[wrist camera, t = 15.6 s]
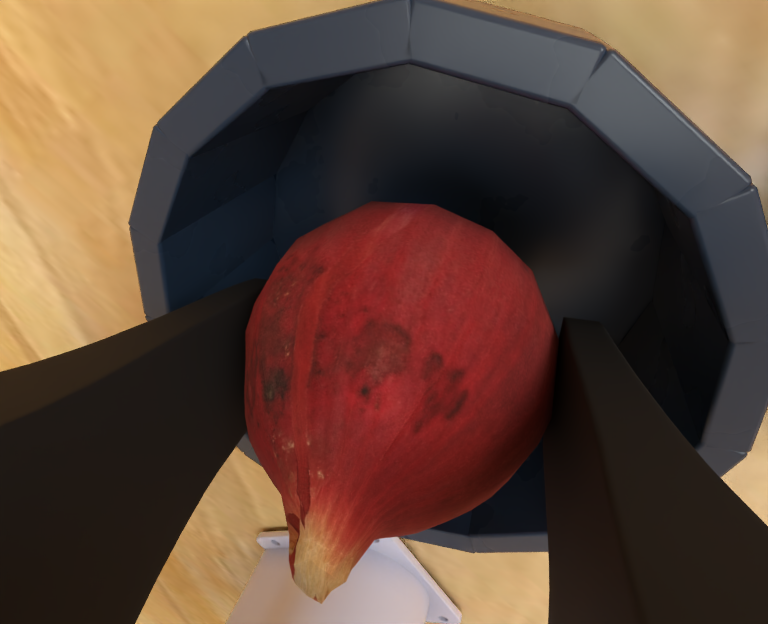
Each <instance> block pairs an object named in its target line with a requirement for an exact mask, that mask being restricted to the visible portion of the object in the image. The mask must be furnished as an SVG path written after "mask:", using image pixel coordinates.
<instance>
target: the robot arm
mask: <svg viewBox="0 0 768 624" xmlns="http://www.w3.org/2000/svg"><path fill="white" fill-rule="evenodd" d="M267 281H268V280H267V279H259V278H254V279H250V280H247V281H244V282H241V283H238V284H236V285H233V286H231V287H228V288H226V289H223V290H221V291H218V292H216V293H214V294H211V295H209V296H207V297H204V298H202V299H200V300H197V301H195V302H193V303H191V304H188V305H186V306H184V307H181V308H179V309H177V310H174V311H172V312H170V313H167V314H165V315H163V316H160V317H158V318H156V319H153V320H151V321H148V322H146V323H143V324H141V325H138V326H136V327H133V328H131V329H128V330H126V331H123V332H121V333H118V334H116V335H113V336H111V337H108V338H106V339H103V340H100V341H98V342H95V343H92V344H89V345H86V346H84V347H81V348H78V349H75V350H72V351H69V352H66V353H63V354H60V355H57V356H54V357H51V358H47V359H44V360H41V361H38V362H35V363H31V364H28V365H24V366H21V367H17V368H13V369H10V370H6V371H2V372H0V624H135V623H136V620H137V618H138V616H139V614H140V612H141V610H142V608H143V606H144V604H145V602H146V600H147V598H148V596H149V594H150V592H151V590H152V588H153V586H154V584H155V582H156V580H157V578H158V576H159V574H160V572H161V570H162V568H163V566H164V565H165V563H166V561H167V559H168V557H169V555H170V553H171V551H172V550H173V548H174V546H175V544H176V542H177V540H178V538H179V536H180V535H181V533H182V531H183V529H184V527H185V526H186V524H187V522H188V520H189V519H190V517H191V515H192V513H193V512H194V510H195V508H196V506H197V505H198V503H199V501H200V499H201V498H202V496H203V494H204V492H205V491H206V489H207V488H208V486H209V485H210V483H211V482H212V480H213V478H214V477H215V475H216V474H217V472H218V471H219V469H220V468H221V467H222V465H223V464H224V462H225V461H226V460H227V458H228V457H229V455H230V454H231V453H232V451H233V450H234V448H235V447H236V446H237V444H238V443H239V441H240V440H241V439H242V437H243V436H244V434H245V433H246V432H247V425H246V420H245V403H244V385H245V361H246V340H245V331H246V328H247V325H248V322H249V319H250V316H251V313H252V309H253V306H254V303H255V302H256V300H257V298H258V296H259V295H260V293H261V291H262V289H263V288H264V286H265V284H266V282H267ZM543 461H544V480H545V498H546V516H547V534H548V552H549V589H550V591H549V618H548V624H768V526H767V525H766V524H765V523H764V522H763V521H762V520H761V519H760V518H759V517H758V516H757V515H756V514H755V513H754V512H753V511H752V510H751V509H750V508H749V507H748V506H747V505H746V504H745V503H744V502H743V501H742V500H741V499H740V498H739V497H738V496H737V495H736V494H735V493H734V492H733V491H732V490H731V489H730V488H729V487H728V485H727V484H726V483H725V482H724V481H723V480H722V479H721V478H720V477H719V476H718V475H717V474H716V473H715V472H714V470H713V469H712V468H711V467H710V466H709V465H708V464H707V463H706V462H705V461H704V459H703V458H702V457H701V456H700V455H699V453H698V452H697V451H696V450H695V449H694V448H693V446H692V445H691V444H690V443H689V442H688V441H687V439H686V438H685V437H684V436H683V435H682V434H681V432H680V431H679V430H678V429H677V427H676V426H675V425H674V424H673V422H672V421H671V420H670V419H669V417H668V416H667V415H666V414H665V412H664V411H663V410H662V408H661V407H660V406H659V404H658V403H657V402H656V400H655V399H654V398H653V397H652V395H651V394H650V393H649V391H648V390H647V389H646V387H645V386H644V385H643V383H642V382H641V380H640V379H639V378H638V376H637V375H636V374H635V372H634V371H633V369H632V368H631V366H630V365H629V363H628V362H627V361H626V359H625V358H624V356H623V355H622V353H621V352H620V350H619V349H618V347H617V346H616V344H615V343H614V341H613V340H612V338H611V337H610V335H609V334H608V332H607V331H606V329H605V328H604V326H603V325H602V324H601V323H600V322H599V321H591V320H583V319H575V318H568V317H563V321H562V326H561V331H560V335H559V346H558V358H557V369H556V378H555V388H554V398H553V408H552V418H551V420H550V422H549V424H548V426H547V428H546V430H545V432H544V434H543ZM256 540H257V542H258V543H259V544H260V545H261V546H262V547H263V548H264V549H265V550H264V552H263V553H262V555H261V557H260V559H259V561H258V563H257V565H256V567H255V568H254V570H253V572H252V574H251V576H250V578H249V580H248V581H247V583H246V585H245V587H244V589H243V591H242V593H241V595H240V596H239V598H238V600H237V602H236V604H235V606H234V608H233V609H232V611H231V613H230V615H229V617H228V619H227V621H226V622H225V624H425V622H433V623H446V624H459V623H461V619H462V614H461V612H460V611H459V610H458V608H457V607H456V606H455V605H454V604H453V602H452V601H451V600H450V599H449V598H448V596H447V595H446V594H445V593H444V592H443V590H442V589H441V588H440V587H439V586H438V584H437V583H436V582H435V581H434V580H433V578H432V577H431V576H430V575H429V574H428V572H427V571H426V570H425V569H424V568H423V566H422V565H421V564H420V563H419V562H418V560H417V559H416V558H415V557H414V556H413V554H412V553H411V552H410V551H409V550H408V548H407V547H406V546H405V545H404V544H403V542H402V541H401V540H400V539H399V538H398V537H391V538H381V539H377V540H374V541H373V543H372V544H371V545H370V547H369V548H368V549H367V551H366V552H365V553H364V555H363V556H362V557H361V559H360V560H359V561H358V563H357V564H356V565H355V566H354V567H353V569H352V570H351V572H350V574H349V576H348V579H347V581H346V582H345V583H343V584H342V585H340V586H339V587H337V588H335V589H334V590H332V591H331V592H330V594H329V595H328V596H327V598H326V599H325V600H324V602H323V603H322V604H321V603H319V602H317V601H315V600H314V599H312V598H310V597H308V596H307V595H306V594H305V593H304V592H303V591H302V590H301V589H300V588H299V587H298V586H297V585H296V584H295V582H294V580H293V578H292V574H291V569H290V564H289V531H288V530H286V531H269V532H260V533H259V535H258V537H257V538H256Z"/></svg>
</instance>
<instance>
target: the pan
mask: <svg viewBox="0 0 768 624" xmlns="http://www.w3.org/2000/svg"><path fill="white" fill-rule="evenodd" d="M371 201H376V202H395V203H414V204H433V205H437V206H439V207H441V208H443V209H445V210H448V211H450V212H452V213H454V214H456V215H459V216H461V217H463V218H465V219H467V220H470V221H472V222H474V223H476V224H478V225H481V226H483V227H485V228H487V229H489V230H492V231H493V232H494V233H495V234H496V235H497V236H498V237H499V238H500V239H501V240H502V241H503V242H504V243H505V244H506V245H507V246H508V247H509V248H510V249H511V250H512V251H513V252H514V253H515V254H516V255H517V256H518V257H519V258H520V259H521V260H522V261H523V262H524V263H525V264H526V265H527V266H528V267H529V268H530V269H531V270H532V271H533V274H534V276H535V279H536V282H537V284H538V287H539V289H540V292H541V294H542V297H543V300H544V302H545V305H546V307H547V310H548V312H549V315H550V318H551V320H552V323H553V326H554V328H555V331H556V334H557V336H558V339H559V335H560V331H561V326H562V321H563V317H568V318H575V319H583V320H591V321H599V322H600V323H601V324H602V325H603V326H604V328H605V329H606V331H607V332H608V334H609V335H610V337H611V338H612V340H613V341H614V343H615V344H616V346H617V347H618V349H619V350H620V352H621V353H622V355H623V356H624V358H625V359H626V361H627V362H628V363H629V365H630V366H631V368H632V369H633V371H634V372H635V374H636V375H637V376H638V378H639V379H640V380H641V382H642V383H643V385H644V386H645V387H646V389H647V390H648V391H649V393H650V394H651V395H652V397H653V398H654V399H655V400H656V402H657V403H658V404H659V406H660V407H661V408H662V410H663V411H664V412H665V414H666V415H667V416H668V417H669V419H670V420H671V421H672V422H673V424H674V425H675V426H676V427H677V429H678V430H679V431H680V432H681V434H682V435H683V436H684V437H685V438H686V439H687V441H688V442H689V443H690V444H691V445H692V446H693V448H694V449H695V450H696V451H697V452H698V453H699V455H700V456H701V457H702V458H703V459H704V461H705V462H706V463H707V464H708V465H709V466H710V467H711V468H712V469H713V470H714V472H715V473H716V474H717V475H718V476H719V477H722V476H723V475H724V474H725V473H727V472H728V471H729V470H730V469H732V468H733V467H734V466H735V465H737V464H738V463H739V462H740V461H742V460H743V459H744V458H745V457H746V456H747V452H749V451H751V449H752V446H753V443H754V441H755V438H756V436H757V433H758V430H759V428H760V425H761V423H762V420H763V417H764V415H765V412H766V410H767V407H768V228H767V225H766V221H765V217H764V213H763V209H762V205H761V201H760V197H759V193H758V189H757V187H756V186H755V185H754V184H752V180H751V176H749V175H748V174H747V173H746V172H745V171H744V170H743V169H742V168H741V167H740V166H739V165H738V164H737V163H736V162H735V161H734V160H732V159H731V158H730V157H729V156H728V155H727V154H726V153H725V152H724V151H723V150H722V149H721V148H720V147H719V146H718V145H717V144H715V143H714V142H713V141H712V140H711V139H710V138H709V137H708V136H707V135H706V134H705V133H704V132H703V131H702V130H701V129H700V128H698V127H697V126H696V125H695V124H694V123H693V122H692V121H691V120H690V119H689V118H688V117H687V116H686V115H685V114H684V113H683V112H681V111H680V110H679V109H678V108H677V107H676V106H675V105H674V104H673V103H672V102H671V101H670V100H669V99H668V98H667V97H665V96H664V95H663V94H662V93H661V92H660V91H659V90H658V89H657V88H656V87H655V86H654V85H653V84H652V83H651V82H650V81H648V80H647V79H646V78H645V77H644V76H643V75H642V74H641V73H640V72H639V71H638V70H637V69H636V68H635V67H634V66H633V65H631V64H630V63H629V62H628V61H627V60H626V59H625V58H624V57H623V56H622V55H621V54H620V53H619V52H618V51H617V50H615V49H614V48H612V47H611V46H609V45H608V44H606V43H605V42H603V41H602V40H600V39H599V38H597V37H596V36H594V35H593V34H591V33H589V32H587V31H585V30H584V29H582V28H579V27H575V26H571V25H567V24H564V23H560V22H556V21H552V20H548V19H545V18H541V17H537V16H534V15H531V14H527V13H522V12H518V11H514V10H510V9H506V8H503V7H499V6H495V5H491V4H487V3H484V2H480V1H476V0H377V1H373V2H369V3H364V4H360V5H356V6H352V7H348V8H344V9H340V10H336V11H332V12H328V13H323V14H319V15H315V16H311V17H307V18H303V19H299V20H295V21H291V22H287V23H282V24H278V25H274V26H270V27H266V28H262V29H258V30H254V31H250V32H249V33H248V34H247V36H243V37H242V38H241V39H240V40H239V41H238V42H237V43H236V44H235V45H234V46H233V47H232V48H231V49H230V50H229V51H228V52H227V53H226V54H225V55H224V56H223V57H222V58H221V59H220V60H219V61H218V62H217V63H216V64H215V65H214V66H213V67H212V68H211V69H210V70H209V71H208V72H207V73H206V74H205V75H204V76H203V77H202V78H201V79H200V80H199V81H198V82H197V83H196V84H195V85H194V86H193V87H192V88H191V89H190V90H189V91H188V92H187V93H186V94H185V95H184V96H183V97H182V98H181V99H180V100H179V101H178V102H177V103H176V104H175V105H174V106H173V107H172V108H171V109H170V110H169V111H168V112H167V113H166V114H165V115H164V116H163V117H162V118H161V119H160V120H159V121H158V123H157V124H156V125H155V126H154V127H153V131H152V134H151V138H150V142H149V146H148V150H147V154H146V157H145V161H144V165H143V169H142V173H141V177H140V180H139V184H138V188H137V192H136V196H135V200H134V203H133V207H132V211H131V215H130V219H129V225H130V228H129V229H130V235H131V240H132V246H133V252H134V257H135V263H136V269H137V274H138V280H139V286H140V291H141V297H142V303H143V308H144V313H145V314H146V316H145V318H146V320H147V322H148V321H151V320H153V319H156V318H158V317H160V316H163V315H165V314H167V313H170V312H172V311H174V310H177V309H179V308H181V307H184V306H186V305H188V304H191V303H193V302H195V301H197V300H200V299H202V298H204V297H207V296H209V295H211V294H214V293H216V292H218V291H221V290H223V289H226V288H228V287H231V286H233V285H236V284H238V283H241V282H244V281H247V280H250V279H254V278H259V279H267V280H268V279H269V277H270V275H271V274H272V272H273V270H274V268H275V267H276V265H277V264H278V262H279V261H280V260H281V259H282V257H283V256H284V255H285V253H286V252H287V251H288V250H289V248H290V247H291V246H292V245H293V243H294V242H295V241H296V239H298V238H300V237H301V236H303V235H305V234H307V233H309V232H310V231H312V230H314V229H316V228H318V227H319V226H321V225H323V224H325V223H327V222H329V221H331V220H333V219H335V218H338V217H340V216H342V215H344V214H346V213H348V212H350V211H352V210H354V209H356V208H359V207H361V206H363V205H365V204H367V203H369V202H371ZM237 447H238V448H239V449H240V450H241V451H242V452H244V454H245V455H246V456H247V457H249V458H250V459H252V460H253V461H255V462H256V463H258V464H259V465H260V466H262V465H261V463H260V461H259V459H258V457H257V455H256V453H255V451H254V449H253V447H252V445H251V443H250V441H249V436H248V430H247V432H246V433H245V434H244V436H243V437H242V439H241V440H240V441H239V443H238V444H237ZM400 538H405V539H410V540H414V541H419V542H424V543H429V544H433V545H438V546H443V547H447V548H452V549H457V550H461V551H466V552H471V553H475V552H477V553H503V552H548V534H547V516H546V498H545V480H544V461H543V436H542V438H541V440H540V442H539V444H538V445H537V447H536V448H535V449H534V450H533V451H532V453H531V454H530V455H529V456H528V458H527V459H526V460H525V461H524V462H523V464H522V465H521V466H520V467H519V469H518V470H517V471H516V472H515V473H514V475H513V476H512V477H511V478H510V479H509V481H508V482H507V483H505V484H504V485H503V486H502V487H501V488H500V489H499V490H498V491H497V492H496V493H495V494H494V495H493V496H492V497H491V498H489V499H488V500H486V501H484V502H483V503H481V504H480V505H478V506H477V507H475V508H474V509H472V510H471V511H468V512H466V513H464V514H462V515H460V516H458V517H456V518H454V519H451V520H449V521H447V522H444V523H442V524H439V525H437V526H434V527H432V528H429V529H427V530H424V531H421V532H419V533H415V534H410V535H405V536H400Z"/></svg>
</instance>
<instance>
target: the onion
mask: <svg viewBox="0 0 768 624" xmlns="http://www.w3.org/2000/svg"><path fill="white" fill-rule="evenodd" d="M245 340H246V361H245V385H244V403H245V420H246V425H247V430H248V436H249V441H250V443H251V445H252V447H253V449H254V451H255V453H256V455H257V457H258V459H259V461H260V463H261V465H262V467H263V468H264V470H265V471H266V473H267V474H268V476H269V478H270V479H271V481H272V482H273V484H274V485H275V487H276V488H277V489H278V491H279V492H280V494H281V496H282V501H283V506H284V511H285V516H286V521H287V526H288V531H289V564H290V569H291V574H292V578H293V580H294V582H295V584H296V585H297V586H298V587H299V588H300V589H301V590H302V591H303V592H304V593H305V594H306V595H307V596H308V597H310V598H312V599H314V600H315V601H317V602H319V603H321V604H322V603H323V602H324V600H325V599H326V598H327V596H328V595H329V594H330V592H331V591H332V590H334V589H335V588H337V587H339V586H340V585H342V584H343V583H345V582H346V581H347V579H348V576H349V574H350V572H351V570H352V569H353V567H354V566H355V565H356V564H357V563H358V561H359V560H360V559H361V557H362V556H363V555H364V553H365V552H366V551H367V549H368V548H369V547H370V545H371V544H372V543H373V541H374V540H377V539H381V538H391V537H400V536H405V535H410V534H415V533H419V532H421V531H424V530H427V529H429V528H432V527H434V526H437V525H439V524H442V523H444V522H447V521H449V520H451V519H454V518H456V517H458V516H460V515H462V514H464V513H466V512H468V511H471V510H472V509H474V508H475V507H477V506H478V505H480V504H481V503H483V502H484V501H486V500H488V499H489V498H491V497H492V496H493V495H494V494H495V493H496V492H497V491H498V490H499V489H500V488H501V487H502V486H503V485H504V484H505V483H507V482H508V481H509V479H510V478H511V477H512V476H513V475H514V473H515V472H516V471H517V470H518V469H519V467H520V466H521V465H522V464H523V462H524V461H525V460H526V459H527V458H528V456H529V455H530V454H531V453H532V451H533V450H534V449H535V448H536V447H537V445H538V444H539V442H540V440H541V438H542V436H543V434H544V432H545V430H546V428H547V426H548V424H549V422H550V420H551V418H552V408H553V398H554V388H555V378H556V369H557V358H558V346H559V339H558V336H557V334H556V331H555V328H554V326H553V323H552V320H551V318H550V315H549V312H548V310H547V307H546V305H545V302H544V300H543V297H542V294H541V292H540V289H539V287H538V284H537V282H536V279H535V276H534V274H533V271H532V270H531V269H530V268H529V267H528V266H527V265H526V264H525V263H524V262H523V261H522V260H521V259H520V258H519V257H518V256H517V255H516V254H515V253H514V252H513V251H512V250H511V249H510V248H509V247H508V246H507V245H506V244H505V243H504V242H503V241H502V240H501V239H500V238H499V237H498V236H497V235H496V234H495V233H494V232H493V231H492V230H489V229H487V228H485V227H483V226H481V225H478V224H476V223H474V222H472V221H470V220H467V219H465V218H463V217H461V216H459V215H456V214H454V213H452V212H450V211H448V210H445V209H443V208H441V207H439V206H437V205H433V204H414V203H395V202H376V201H371V202H369V203H367V204H365V205H363V206H361V207H359V208H356V209H354V210H352V211H350V212H348V213H346V214H344V215H342V216H340V217H338V218H335V219H333V220H331V221H329V222H327V223H325V224H323V225H321V226H319V227H318V228H316V229H314V230H312V231H310V232H309V233H307V234H305V235H303V236H301V237H300V238H298V239H296V241H295V242H294V243H293V245H292V246H291V247H290V248H289V250H288V251H287V252H286V253H285V255H284V256H283V257H282V259H281V260H280V261H279V262H278V264H277V265H276V267H275V268H274V270H273V272H272V274H271V275H270V277H269V279H268V281H267V282H266V284H265V286H264V288H263V289H262V291H261V293H260V295H259V296H258V298H257V300H256V302H255V303H254V306H253V309H252V313H251V316H250V319H249V322H248V325H247V328H246V331H245Z"/></svg>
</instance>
